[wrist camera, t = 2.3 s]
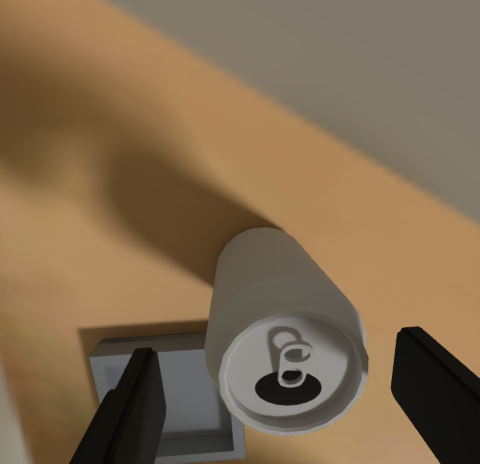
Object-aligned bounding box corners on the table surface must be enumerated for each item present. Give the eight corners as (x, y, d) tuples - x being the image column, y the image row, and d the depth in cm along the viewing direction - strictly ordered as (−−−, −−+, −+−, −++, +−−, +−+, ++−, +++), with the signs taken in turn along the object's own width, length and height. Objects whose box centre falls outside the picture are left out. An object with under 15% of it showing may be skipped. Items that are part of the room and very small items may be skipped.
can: (214, 306, 23) (197, 452, 11) (218, 221, 21) (202, 291, 9) (299, 309, 23) (369, 454, 11) (310, 226, 21) (406, 299, 10)
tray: (237, 330, 23) (237, 346, 21) (244, 434, 26) (245, 458, 24) (102, 339, 23) (88, 357, 21) (124, 444, 26) (114, 468, 24)
